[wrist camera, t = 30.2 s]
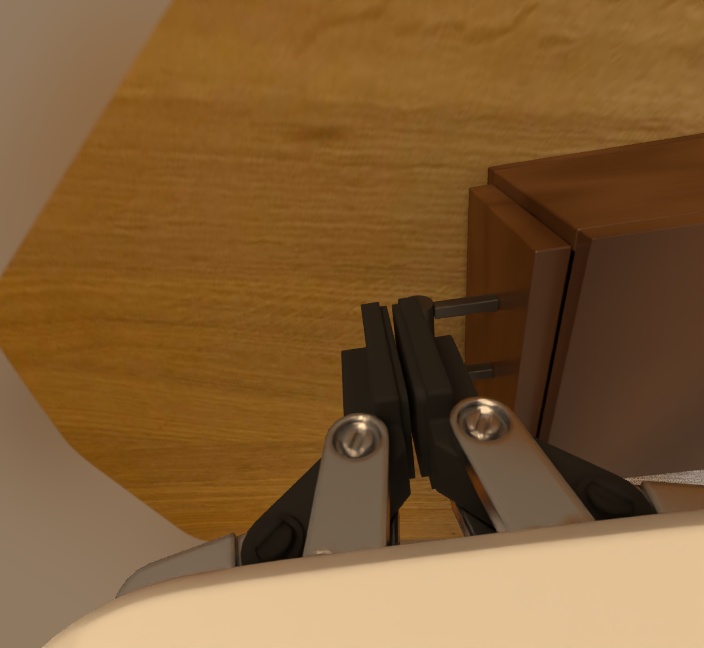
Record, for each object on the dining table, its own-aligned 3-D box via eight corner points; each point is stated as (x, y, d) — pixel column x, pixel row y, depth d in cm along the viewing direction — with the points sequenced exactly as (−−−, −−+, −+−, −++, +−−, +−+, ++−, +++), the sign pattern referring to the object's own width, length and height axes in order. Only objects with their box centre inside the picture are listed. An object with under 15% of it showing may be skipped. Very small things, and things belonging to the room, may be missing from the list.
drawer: (400, 371, 25) (421, 476, 19) (383, 200, 19) (406, 270, 13) (677, 336, 24) (799, 434, 18) (757, 142, 18) (988, 186, 12)
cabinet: (478, 359, 26) (538, 487, 18) (488, 166, 19) (592, 238, 11) (701, 330, 25) (865, 452, 17) (796, 118, 18) (1145, 159, 10)
